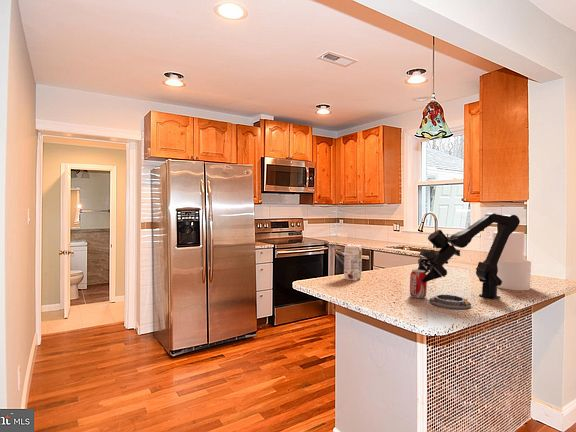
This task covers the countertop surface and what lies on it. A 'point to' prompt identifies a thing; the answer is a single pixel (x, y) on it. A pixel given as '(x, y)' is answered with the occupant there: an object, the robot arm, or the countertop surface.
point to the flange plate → (450, 301)
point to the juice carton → (352, 262)
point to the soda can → (418, 284)
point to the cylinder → (514, 264)
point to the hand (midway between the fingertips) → (418, 279)
